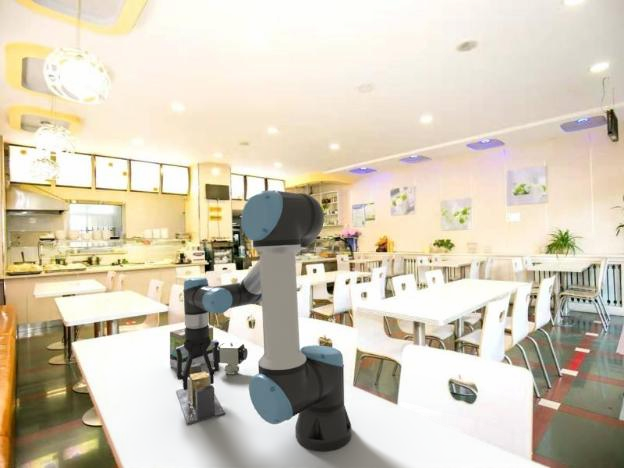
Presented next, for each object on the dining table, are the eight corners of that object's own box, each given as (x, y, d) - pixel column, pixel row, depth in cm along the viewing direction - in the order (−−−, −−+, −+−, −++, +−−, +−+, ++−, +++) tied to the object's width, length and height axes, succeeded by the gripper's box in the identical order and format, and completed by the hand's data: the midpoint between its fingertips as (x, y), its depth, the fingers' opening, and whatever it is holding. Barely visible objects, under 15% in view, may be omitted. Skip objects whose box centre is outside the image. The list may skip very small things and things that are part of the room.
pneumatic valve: (243, 376, 132) (242, 345, 132) (215, 374, 134) (214, 344, 134) (249, 370, 137) (248, 340, 137) (221, 369, 140) (221, 339, 140)
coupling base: (225, 414, 104) (224, 386, 104) (187, 424, 99) (186, 395, 99) (208, 384, 125) (207, 361, 125) (176, 391, 120) (175, 367, 120)
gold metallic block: (209, 403, 110) (209, 378, 110) (193, 407, 108) (193, 381, 108) (204, 393, 117) (204, 370, 117) (189, 396, 115) (189, 372, 115)
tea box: (183, 372, 138) (182, 335, 138) (169, 366, 144) (168, 331, 144) (214, 360, 150) (213, 326, 150) (200, 355, 156) (199, 323, 156)
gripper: (222, 319, 120) (224, 385, 120) (164, 327, 111) (166, 398, 111) (228, 323, 113) (230, 394, 113) (167, 332, 104) (169, 409, 105)
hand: (198, 396), depth 112 cm, fingers open, 6 cm apart
